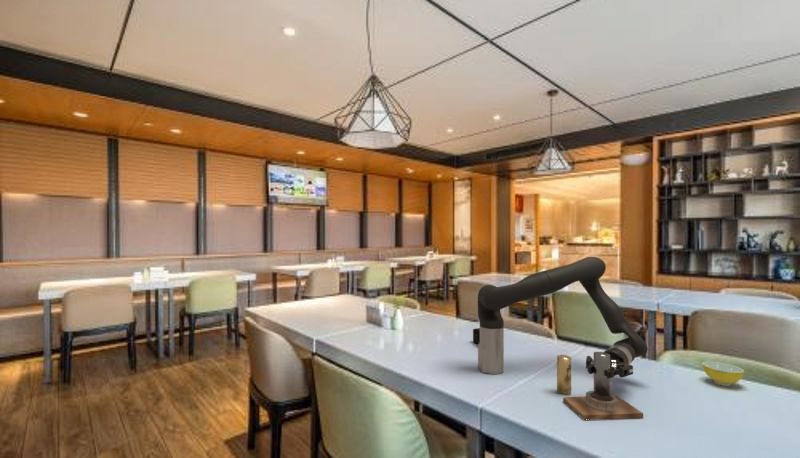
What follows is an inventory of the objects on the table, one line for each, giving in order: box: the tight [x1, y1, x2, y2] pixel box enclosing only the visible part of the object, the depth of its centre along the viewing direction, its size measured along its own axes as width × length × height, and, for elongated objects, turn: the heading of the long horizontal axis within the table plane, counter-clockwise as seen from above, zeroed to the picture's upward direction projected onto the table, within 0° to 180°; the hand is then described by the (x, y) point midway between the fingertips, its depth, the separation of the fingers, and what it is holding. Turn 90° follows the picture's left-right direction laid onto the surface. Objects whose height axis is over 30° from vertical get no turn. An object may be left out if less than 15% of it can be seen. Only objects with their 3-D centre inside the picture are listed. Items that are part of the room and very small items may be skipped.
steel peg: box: [593, 351, 611, 396], centre depth 116 cm, size 4×4×12 cm
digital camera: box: [472, 327, 480, 346], centre depth 182 cm, size 10×5×7 cm, turn 26°
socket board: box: [562, 390, 644, 421], centre depth 116 cm, size 18×12×4 cm, turn 95°
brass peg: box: [556, 354, 572, 396], centre depth 129 cm, size 4×4×12 cm
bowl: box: [701, 361, 745, 387], centre depth 137 cm, size 11×12×6 cm
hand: (598, 372), depth 114 cm, fingers closed on steel peg, 4 cm apart
